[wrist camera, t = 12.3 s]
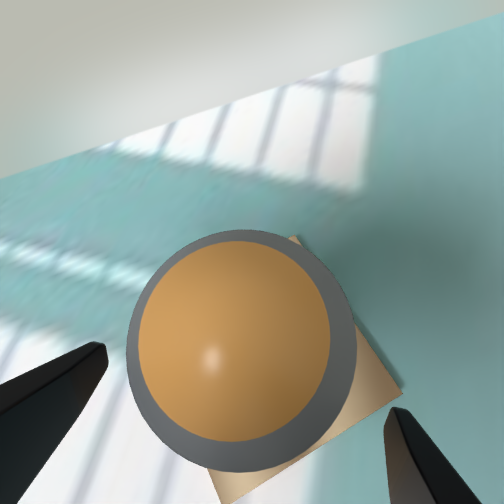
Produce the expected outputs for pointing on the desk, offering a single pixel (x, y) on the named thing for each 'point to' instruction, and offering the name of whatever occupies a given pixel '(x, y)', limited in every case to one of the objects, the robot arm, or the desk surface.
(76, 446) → the desk surface
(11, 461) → the robot arm
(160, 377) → the canister
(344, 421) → the mat
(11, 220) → the desk surface
